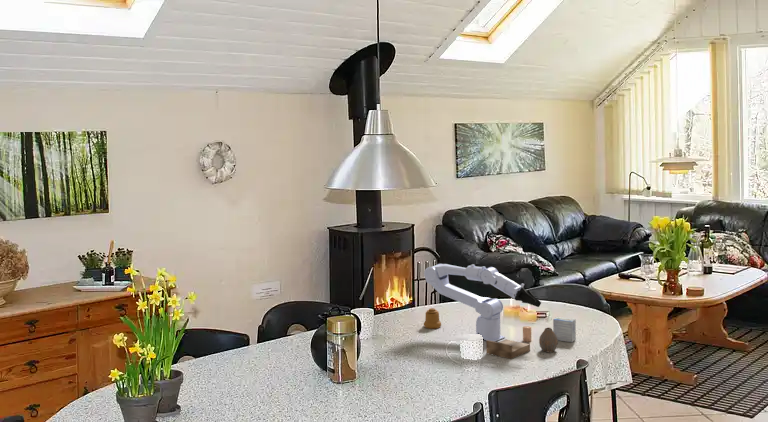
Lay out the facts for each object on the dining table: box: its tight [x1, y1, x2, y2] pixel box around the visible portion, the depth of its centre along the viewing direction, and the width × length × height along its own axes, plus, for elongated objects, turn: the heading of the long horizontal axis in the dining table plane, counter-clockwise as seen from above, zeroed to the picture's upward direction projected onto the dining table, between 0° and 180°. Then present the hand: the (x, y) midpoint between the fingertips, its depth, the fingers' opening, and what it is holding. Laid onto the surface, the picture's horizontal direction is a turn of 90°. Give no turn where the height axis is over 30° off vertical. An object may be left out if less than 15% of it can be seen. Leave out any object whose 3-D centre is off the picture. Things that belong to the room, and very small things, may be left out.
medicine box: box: [552, 316, 577, 343], centre depth 312 cm, size 8×4×9 cm, turn 58°
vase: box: [538, 327, 559, 353], centre depth 298 cm, size 7×7×9 cm
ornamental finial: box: [423, 307, 442, 330], centre depth 336 cm, size 8×8×8 cm
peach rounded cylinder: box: [522, 326, 532, 343], centre depth 312 cm, size 3×3×6 cm
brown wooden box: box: [485, 338, 531, 360], centre depth 298 cm, size 11×13×5 cm
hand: (537, 303), depth 303 cm, fingers open, 7 cm apart
